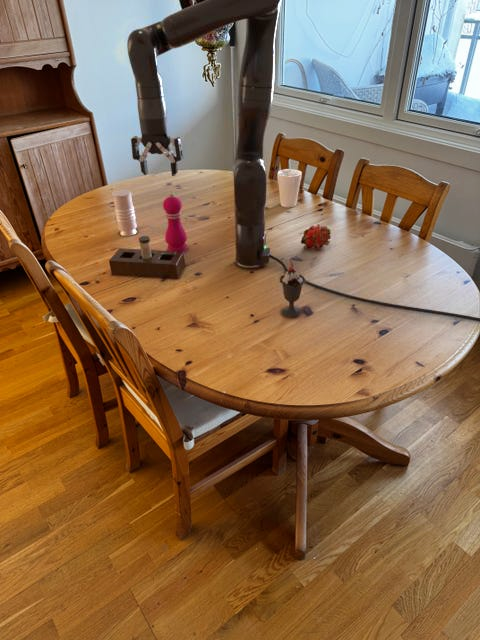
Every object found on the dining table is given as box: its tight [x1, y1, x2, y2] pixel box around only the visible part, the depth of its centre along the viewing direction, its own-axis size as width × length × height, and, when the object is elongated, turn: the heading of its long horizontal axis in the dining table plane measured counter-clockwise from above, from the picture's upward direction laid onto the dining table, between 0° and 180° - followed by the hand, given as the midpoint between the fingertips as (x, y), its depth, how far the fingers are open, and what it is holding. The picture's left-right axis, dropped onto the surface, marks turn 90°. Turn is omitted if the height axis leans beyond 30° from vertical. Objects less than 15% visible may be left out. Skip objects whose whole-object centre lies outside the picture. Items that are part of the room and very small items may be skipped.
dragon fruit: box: [300, 223, 332, 251], centre depth 154 cm, size 8×8×12 cm
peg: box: [138, 235, 152, 259], centre depth 143 cm, size 3×3×11 cm
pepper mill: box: [162, 192, 188, 253], centre depth 152 cm, size 7×7×20 cm
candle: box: [111, 188, 138, 237], centre depth 166 cm, size 7×7×15 cm
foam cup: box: [277, 168, 303, 208], centre depth 186 cm, size 10×9×13 cm
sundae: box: [279, 258, 307, 318], centre depth 120 cm, size 7×7×15 cm
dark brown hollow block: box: [108, 247, 186, 280], centre depth 145 cm, size 21×9×5 cm, turn 81°
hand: (160, 174), depth 135 cm, fingers open, 8 cm apart
